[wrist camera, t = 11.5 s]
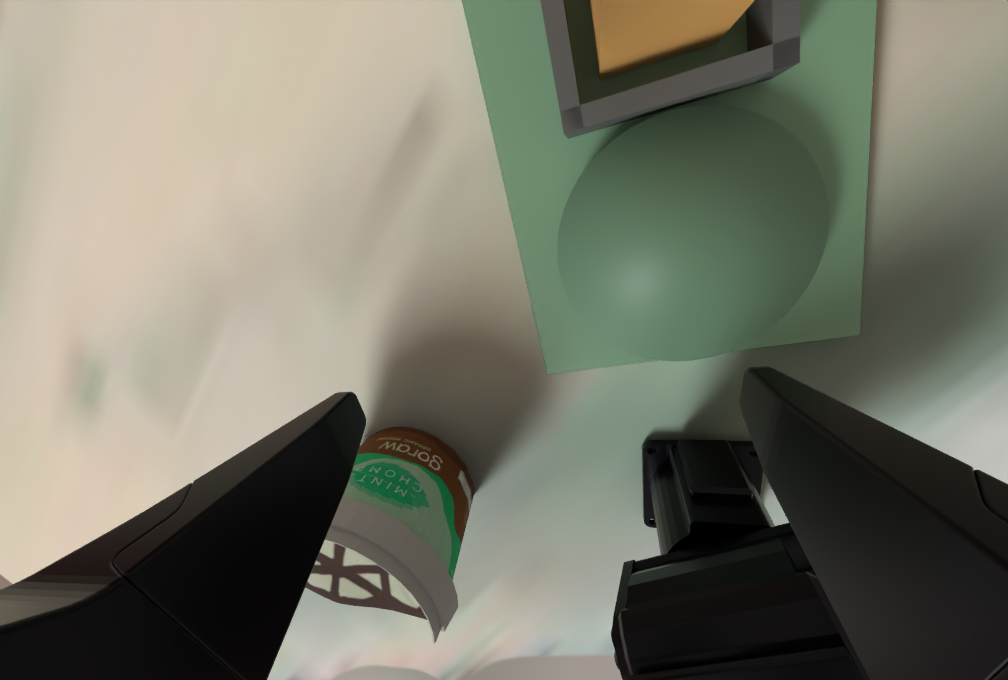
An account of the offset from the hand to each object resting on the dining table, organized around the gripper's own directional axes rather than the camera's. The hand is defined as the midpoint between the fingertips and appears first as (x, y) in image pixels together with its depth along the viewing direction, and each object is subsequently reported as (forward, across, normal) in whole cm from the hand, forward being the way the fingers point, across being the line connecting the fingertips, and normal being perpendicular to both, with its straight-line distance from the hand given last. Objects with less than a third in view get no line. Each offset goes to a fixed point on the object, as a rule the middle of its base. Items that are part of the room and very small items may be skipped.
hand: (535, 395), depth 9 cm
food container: (+12, +11, +14) cm, 22 cm away
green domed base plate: (+14, -6, -3) cm, 15 cm away
